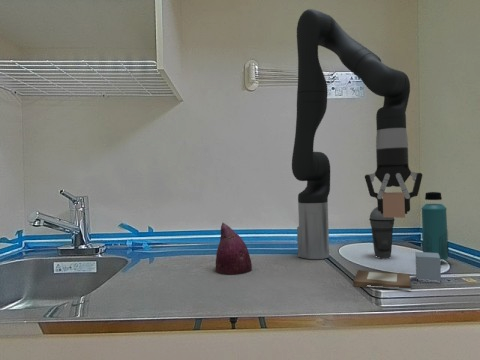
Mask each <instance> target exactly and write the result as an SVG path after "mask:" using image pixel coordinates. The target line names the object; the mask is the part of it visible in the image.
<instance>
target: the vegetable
mask: <svg viewBox="0 0 480 360" xmlns="http://www.w3.org/2000/svg"><path fill="white" fill-rule="evenodd" d="M219 240H220V241H219V244H218V246H217V250H216V256H215V272H216V273H218V274H222V275H228V276H229V275H242V274H247V273H249V272H252V270H253V266H252V265H253V264H252V259H251V255H250V253H249V250H248V247H247V245H246V243H245V241H244V239H242V237H241V235H239V234H238V233H237V232H236V231H235V230H233V229H232V228H231V226H229V225H228V224H226V223H224V222H223V221H222V223H221V226H220V237H219Z"/></svg>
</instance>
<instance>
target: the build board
mask: <svg viewBox="0 0 480 360" xmlns="http://www.w3.org/2000/svg"><path fill="white" fill-rule="evenodd" d="M367 285H371V286H383V287H399V288H411V287H412V285H411V274H410V273H401V272H391V271H390V272H389V271H388V272H387V271H374V270H364V269H363V270H361V269H357V272H356V274H355V276H354V278H353V284H352V286H353V287H359V288H367V287H366V286H367ZM411 289H412V288H411Z"/></svg>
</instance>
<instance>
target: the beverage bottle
mask: <svg viewBox="0 0 480 360" xmlns="http://www.w3.org/2000/svg"><path fill="white" fill-rule="evenodd" d="M424 195H425V197H424V199H425V200H426V201H441V200H442V199H443V198H442V192H439V191H429V192H425V194H424ZM447 216H448V215H447V207H446V206H445V205H444V204H443V203H426V204H424V205H422V207H421V220H422V221H421V224H422V225H421V233H422V241H421V243H422V252H426V253H438V254H439V256H440V261H442V260H447V259H448V258H449V250H450V249H449V248H450V247H449V241H448V240H449V231H448V220H447V218H448V217H447Z"/></svg>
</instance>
